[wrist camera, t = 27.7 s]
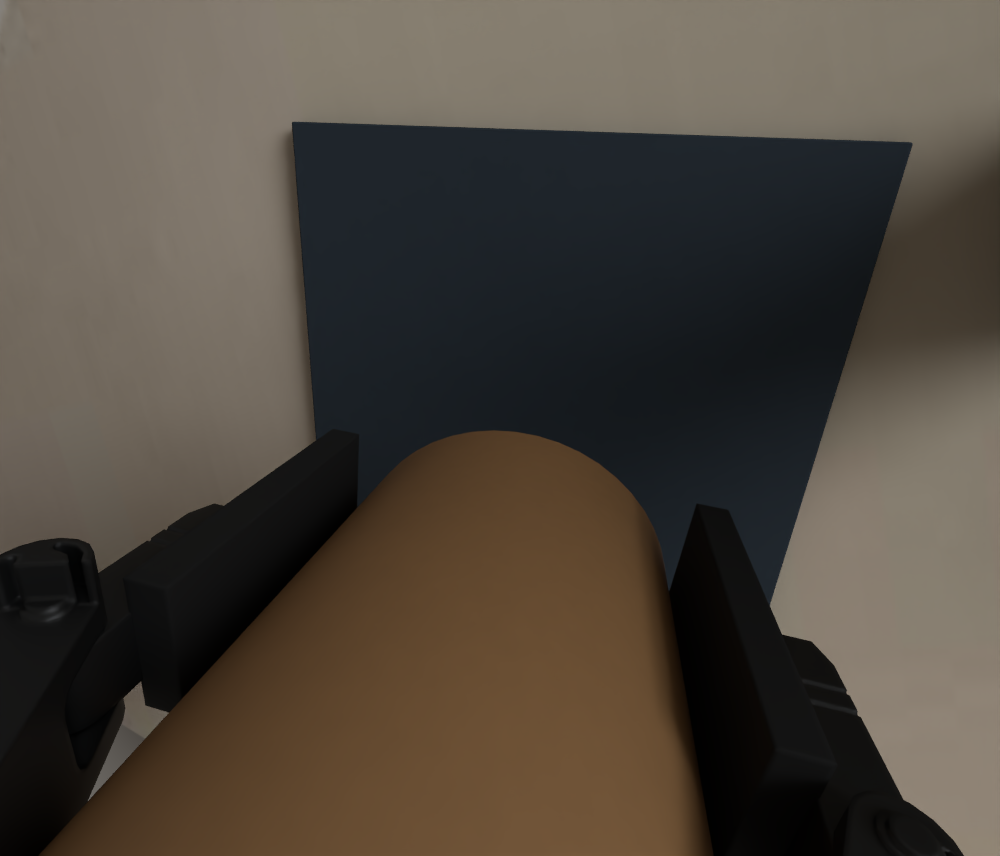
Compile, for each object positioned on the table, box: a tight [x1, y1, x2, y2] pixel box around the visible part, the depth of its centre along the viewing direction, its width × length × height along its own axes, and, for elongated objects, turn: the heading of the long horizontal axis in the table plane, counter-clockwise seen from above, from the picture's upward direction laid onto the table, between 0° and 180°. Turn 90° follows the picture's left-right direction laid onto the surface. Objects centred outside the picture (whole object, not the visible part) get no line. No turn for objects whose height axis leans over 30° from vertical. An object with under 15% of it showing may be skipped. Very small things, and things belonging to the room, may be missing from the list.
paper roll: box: [38, 430, 714, 856], centre depth 10 cm, size 12×9×9 cm
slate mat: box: [292, 122, 912, 606], centre depth 21 cm, size 20×20×1 cm
